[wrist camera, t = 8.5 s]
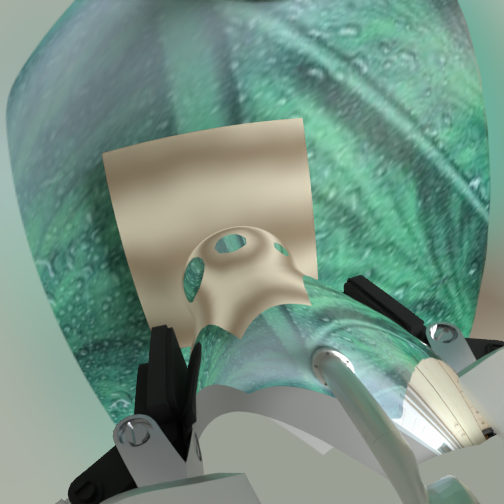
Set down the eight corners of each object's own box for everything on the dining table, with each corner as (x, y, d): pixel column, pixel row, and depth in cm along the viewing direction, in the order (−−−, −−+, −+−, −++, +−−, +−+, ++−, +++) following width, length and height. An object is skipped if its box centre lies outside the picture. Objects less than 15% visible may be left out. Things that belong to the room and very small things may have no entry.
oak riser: (111, 153, 20) (101, 153, 17) (287, 121, 22) (302, 118, 20) (159, 332, 26) (159, 352, 23) (306, 297, 28) (319, 312, 25)
